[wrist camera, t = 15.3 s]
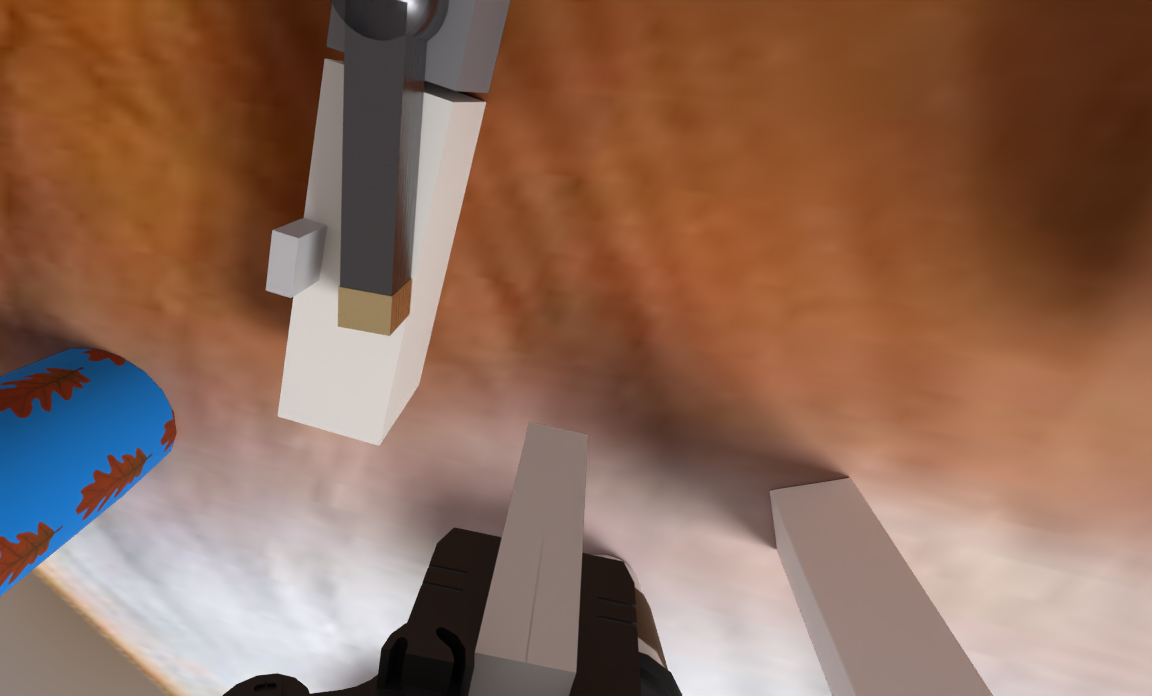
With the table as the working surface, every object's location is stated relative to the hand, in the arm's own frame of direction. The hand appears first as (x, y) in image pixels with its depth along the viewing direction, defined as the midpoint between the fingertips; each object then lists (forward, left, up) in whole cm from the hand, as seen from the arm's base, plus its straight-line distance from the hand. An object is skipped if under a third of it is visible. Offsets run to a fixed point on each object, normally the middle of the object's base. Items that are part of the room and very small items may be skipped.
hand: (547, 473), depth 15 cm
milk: (-23, +14, -25) cm, 37 cm away
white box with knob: (+11, 0, -24) cm, 27 cm away
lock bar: (+10, -4, -16) cm, 19 cm away
